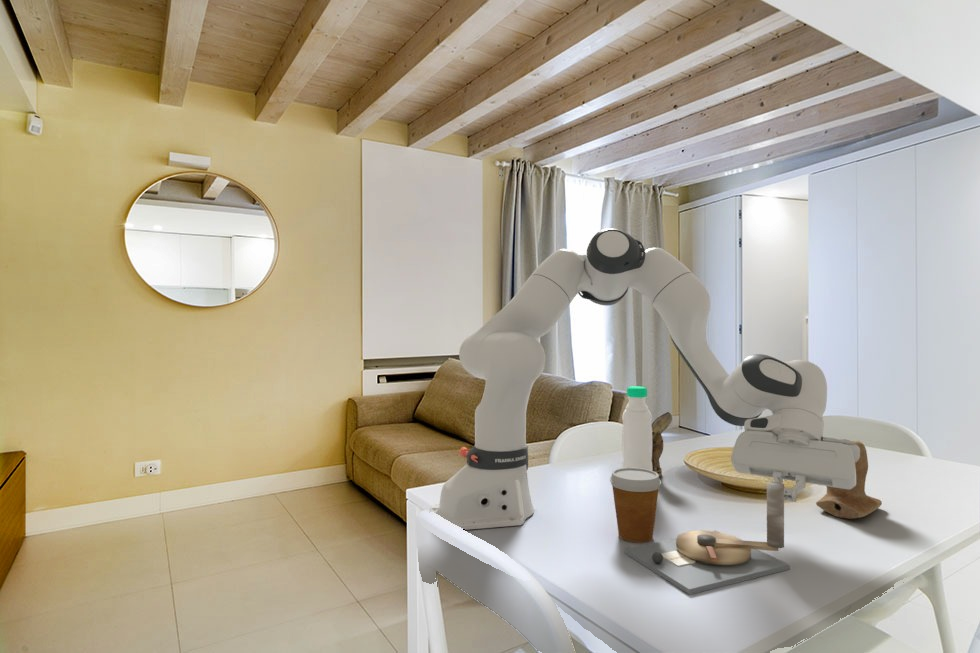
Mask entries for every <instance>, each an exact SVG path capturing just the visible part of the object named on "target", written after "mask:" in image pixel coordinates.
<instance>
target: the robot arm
mask: <svg viewBox="0 0 980 653" xmlns="http://www.w3.org/2000/svg"><path fill="white" fill-rule="evenodd" d="M630 288H631V289H633V290H636V291H637V292H639V293H640V294H641V295H643V296H644V298H646V300H647V301H648V302H649V303H650V304H651V306H652V307H653V308H654V309H655V311H656V312H657V313H658V315H660V317H661V319H662V321H663V322H664V324H665V326H666V327H667V330H668V334H669V336H670V339H671V342H672V344H673V345H674V347H675V349H676V350H677V352H678V354H679V355H680V357H681V358H682V360H683V361H684V363H685V364H686V365H687V367H688V368H689V370H690V371H691V372H692V374H693V375H694V377H695V378H696V380H697V381H698V383H699V384H700V385H701V387H702V389H703V391H704V392H705V393H706V395H707V398H708V400H709V404H710V406H711V407H712V410H713V411H714V413H715V414H716V416H718V417H719V418H720V419H721V420H723V421H724V422H726V423H727V424H729V425H732V426H737V427H744V428H743V429H744V431H742V432H740V434H739V435H737V438H736V440H735V443H734V444H733V449H732V451H731V454H730V455H731V456H730V462H731V465H732V468H733V469H734V470H735V471H736V472H737V473H739V474H745V475H753V476H761V477H765V478H771V479H772V480H773V482H779V483H782V484H783V483H784V482H783V481H785V480H786V481H791V482H795V484H794V485H793V486H792V487H785V486H784V501H788V502H792V503H793V502H794V503H797V502H796V501H797V497H798V495H799V494H800V493H801V492H802V491H803V490H805V488H806V484H811V485H818V486H822V487H823V486H824V487H826V486H829V487H836V488H842V489H852V488H853V487H855V486H856V468H855V462H857V461H858V460H859V458H860V448H859V446H858V445H856V444H855V443H852V442H851V441H852V440H850V439H845V438H842V439H841V438H840V439H838V438H834V437H828V436H827V437H826V436H823V435H824V427H825V421H824V418H823V416H824V413H825V412H826V409H827V401H828V400H827V399H828V384H827V378H826V376H825V373H824V372H823V370H822V369H821V368H820V367H819V366H818V365H817V364H815V363H814V362H811V361H808V360H804V359H792V360H788V361H785V360H784V361H783V360H780V359H777V358H776V357H773V356H770V355H767V354H762V353H755V354H750V355H749V356H746V357H745V359H743V361H742V362H740V363H739V364H738V365H737V366H736V367H735V368H734V369H733V371H732V373H730V374H729V373H728V372H727V371H726V369H725V368H724V367H723V366H722V364H721V362H720V361H719V360H718V358H717V357H716V355H715V354H714V353H713V350H711V348H710V346H709V344H708V341H707V336H706V330H707V322H708V317H709V313H710V309H711V308H710V307H711V298H710V294H709V292H708V290H707V288H706V286H705V285H704V283H702V281H701V280H700V279H699V278H698V277H697V276H696V275H695V274H694V273H693V271H692V270H690V269H689V268H688V267H687V266H686V265H685V264H684V263H683V262H681V261H680V260H679V259H678V258H677V257H675V256H674V255H673V254H671V253H669V252H668V251H666V250H665V249H663V248H661V247H650V248H648V249H645V247H644V245H643V243H642V242H641V241H640V240H638V239H635V238H634V237H633V236H632V235H630V234H629V233H628V232H626V231H624V230H621V229H619V228H612V227H611V228H604V229H601V230H599V231H598V232H597V233H596V234H594V236H593V237H592V238H591V239H590V241H589V244H588V246H587V249H586V254H578V253H576V252H575V251H573V250H571V249H566V248H560V249H557V250H555V251H553V252H552V253H551V254H550V255H549V256H547V257H546V258H545V259H544V260H543V261H542V262H541V263H540V264H539V265H538V266H537V267H536V268H535V269H534V270H533V272H532V273H531V274H530V276H529V277H528V278H527V279H526V281H524V283H523V285H522V286H521V287H520V288H519V290H517V292H516V294H515V295H514V296H513V297H512V299H511V300H510V301H509V302H508V303H507V304H506V305H505V306H504V307H503V308H501V309H500V310H499V311H498V312H497V313H496V314H494V315H493V316H492V318H490V319H489V320H488V321H487V322H486V323H484V325H483V326H481V327H480V328H479V329H478V330H477V331H475V332H474V333H472V334H471V335H468V336H467V337H466V338H465V339H464V340H463V342H462V343H461V345H460V347H459V352H458V356H459V362H460V364H461V366H462V367H463V369H464V370H465V371H466V372H468V373H469V374H470V375H472V376H474V377H475V378H477V379H481V380H485V383H484V384H485V385H484V390H483V394H482V398H481V401H480V402H479V404H478V405H477V406H476V408H475V409H474V445H473V447H471V449H470V448H467V447H466V446H462V447H460V449H459V453H458V454H459V455H460V456H461V457H463V458H465V459H466V464H465V465H464V466H463V467H462V468H461V469H459V470H458V471H457V472H456V473H455V474H454V475H453V476H451V477H450V478H449V479H448V480H446V481H445V482H444V484H443V485H442V488H441V492H440V497H439V498H440V499H439V503H437V504H433V505H431V507H430V508H429V513H430V512H434V513H436V514H438V515H440V516H441V517H443V518H444V519H446V520H448V521H450V522H451V523H453V524H455V525H457V526H459V527H461V528H463V529H465V530H464V531H466V530H479V529H489V528H491V529H492V528H500V527H513V526H515V527H516V526H522V525H524V524H525V521H526V519H528V518H529V517H531V516H532V515H533V514H534V512H535V508H534V506H533V502H532V497H531V492H530V488H529V487H530V486H529V479H528V470H529V446H528V445H527V440H526V438H527V434H526V433H527V429H526V428H527V408H528V404H529V399H530V395H531V393H532V388H533V386H534V384H535V382H536V381H537V380H538V379H539V377H540V376H541V375H542V374H543V371H544V370H545V367H546V357H547V356H546V353H545V349H544V347H543V345H542V344H541V342H540V341H539V340H538V339H539V338H541V337H543V336H545V335H547V334H548V333H549V332H551V330H552V329H553V328H554V326H555V325H556V323H557V322H558V321H559V320H560V318H561V317H562V315H563V314H564V312H565V311H566V310H567V309H568V307H569V306H570V305H571V303H572V301H573V300H574V298H575V297H576V296H577V295H579V296H580V297H581V298H582V299H585V300H589V301H590V302H592V303H594V304H597V305H600V306H605V307H607V306H613V305H616V304H617V303H619V302H621V300H622V299H623V298H624V297H625V296H626V294H627V292H628V290H629V289H630ZM766 409H767V410H769V411H770V412H771V413H772V414H771V415H767V416H761V415H762V413H763V412H765V411H766Z"/></svg>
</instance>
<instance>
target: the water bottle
mask: <svg viewBox="0 0 980 653" xmlns="http://www.w3.org/2000/svg"><path fill="white" fill-rule="evenodd" d="M626 395H627V399H628V401H627V404H626V406H625V409H624V411H623V413H622V416H621V419H622V420H621V421H622V429H621V431H622V432H621V434H622V435H621V436H622V437H621V442H622V444H621V445H622V446H621V447H622V467H621V468H642V469H648V470H651V471H652V461H651V460H652V432H653V431H652V423H653V416H652V413H651V411H650V410H649V406H648V405H647V403H646V399H647V397H648V389H647V388H646V387H644V386H639V385H638V386H637V385H635V386H633V385H632V386H629V387H627V388H626Z"/></svg>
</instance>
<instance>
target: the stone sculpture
mask: <svg viewBox="0 0 980 653" xmlns="http://www.w3.org/2000/svg"><path fill="white" fill-rule="evenodd" d="M672 421H673V415H672V414H671V413H670V412H669V411H667V412H665V413H663V414H661V415H660V416H658V417H656V418H655V419H654V421H652V423H651V425H652V460H651V461H652V471H654V472H656V473H658V475H659V478H661V477H662V474H663V472H662V468H661V465H660V458H661V456H662V454H663V451H664V439H663V438H664V437H663V435H662V434H663V432H664V431H665V430H666V429H668V427H669V426H670V425H671V423H672Z"/></svg>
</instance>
